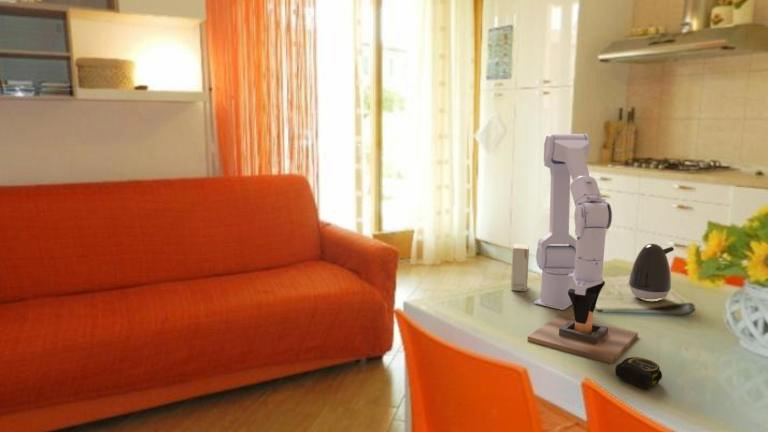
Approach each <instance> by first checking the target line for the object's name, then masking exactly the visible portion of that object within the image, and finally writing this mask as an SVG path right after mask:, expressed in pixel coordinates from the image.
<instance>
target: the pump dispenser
mask: <svg viewBox="0 0 768 432" xmlns="http://www.w3.org/2000/svg"><path fill="white" fill-rule="evenodd" d="M674 250H675V249H674V247H673V246H670V247H666V248H663V247H661V245H659V244H657V243H648V244H646V245H645V246H643V247H642V248H641V250H640V251H639V252H638V254H637V256H636V258H635V260H634V262H633V266H632V267H631V270H630V275H629V281H628V285H629V287H630V291H631V293H632V294H633V296H634V295H635V296H636V297H635V296H634V297H635V298H637V297H639V298H644V299H658V298H663V297H665V298H666V297H667V296H668V295H669V292H670V291H671V289H672V273H671V267H670V264H669V263H670V262H669V259H668V256H667V254H669V253H671V252H674Z"/></svg>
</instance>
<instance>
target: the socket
mask: <svg viewBox="0 0 768 432" xmlns="http://www.w3.org/2000/svg"><path fill="white" fill-rule="evenodd" d="M574 329H575V317H574V316H571V315H566V314H563V313H559V314H557V315H556V316H554V317H553V318H552V319H550V320H549V321H547V322H546V323H545V324H542V326H540V327H539V328H538V329H536V330H535V331H533V332H532V333H529V335H527V339H526V340H527V342H531V343H535V344H537V345H542V346H547V347H549V348H552V349H557V350H560V351H563V352H566V353H570V354H574V355H578V356H582V357H584V358H588V359H593V360H597V361H599V362H603V363H607V364H611V365H612V364H613V363H615V361H616V360H617V359H618V358H619V357H620V356H621V355H622V354H623V353H624V352H625V351H626V349H628V348H629V346H630V345H631V344H632V343H633V342H634V341H635V340H636V339H637V337H638V336H639V332H638V331H634V330H630V329H625V328H623V327H622V328H621V327H618V326H614V325H609V324H604V323H601V322H597V321H593V322H592V334H587V333H583V332H579V331H575V330H574Z"/></svg>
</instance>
